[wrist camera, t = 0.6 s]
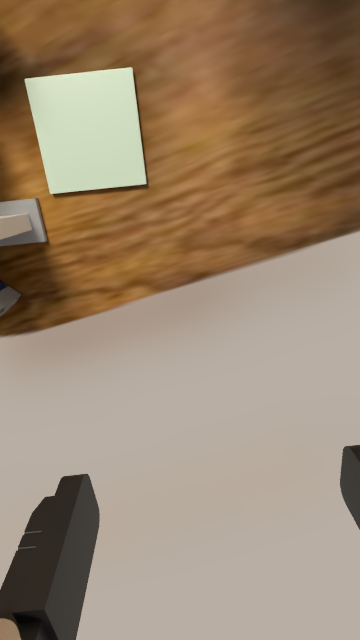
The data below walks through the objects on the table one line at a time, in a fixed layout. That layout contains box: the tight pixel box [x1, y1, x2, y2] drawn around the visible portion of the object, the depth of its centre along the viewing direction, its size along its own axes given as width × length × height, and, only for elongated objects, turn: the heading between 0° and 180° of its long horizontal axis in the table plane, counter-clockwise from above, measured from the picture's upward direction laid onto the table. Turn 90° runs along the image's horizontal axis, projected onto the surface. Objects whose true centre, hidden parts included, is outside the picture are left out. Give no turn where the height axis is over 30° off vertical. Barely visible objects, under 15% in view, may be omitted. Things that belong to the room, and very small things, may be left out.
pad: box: [25, 67, 147, 194], centre depth 30 cm, size 9×9×1 cm
